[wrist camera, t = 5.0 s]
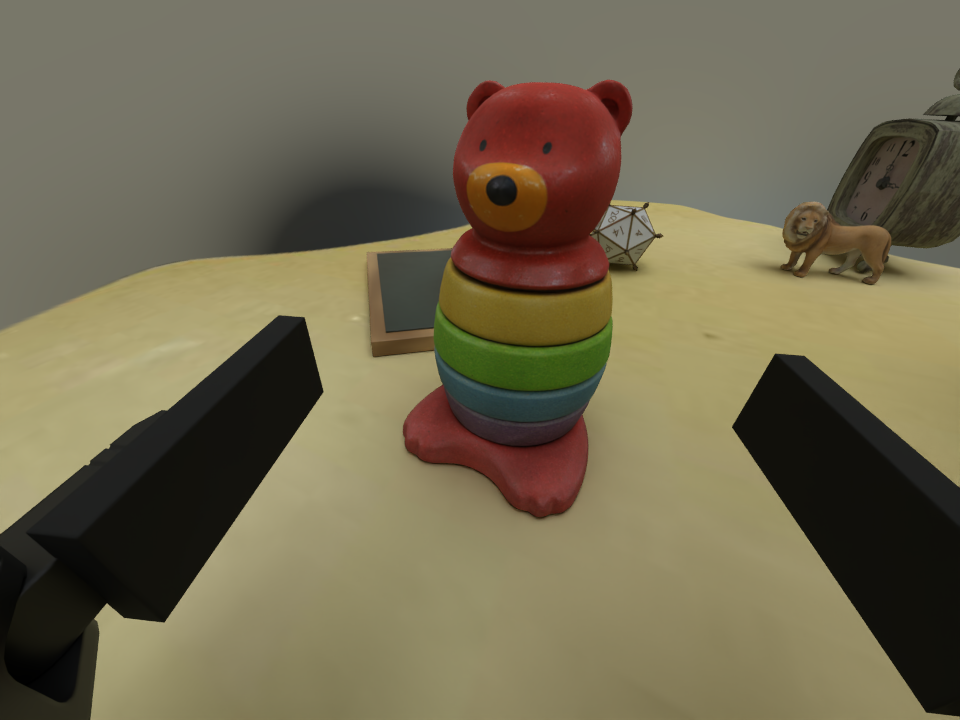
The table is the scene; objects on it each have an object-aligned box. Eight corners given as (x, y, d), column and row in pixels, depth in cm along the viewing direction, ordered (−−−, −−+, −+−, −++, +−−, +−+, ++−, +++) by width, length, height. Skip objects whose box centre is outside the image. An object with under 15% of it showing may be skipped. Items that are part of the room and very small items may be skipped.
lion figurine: (774, 278, 48) (811, 205, 43) (752, 264, 52) (784, 196, 47) (892, 286, 47) (945, 213, 42) (860, 271, 52) (904, 203, 47)
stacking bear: (388, 445, 22) (332, 62, 12) (474, 363, 29) (484, 85, 19) (561, 534, 18) (701, 58, 8) (610, 412, 25) (714, 89, 15)
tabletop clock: (805, 245, 62) (909, 52, 48) (868, 252, 60) (996, 53, 46) (853, 275, 50) (1010, 32, 36) (933, 285, 48) (1131, 32, 34)
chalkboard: (515, 255, 52) (516, 244, 51) (595, 332, 34) (598, 317, 33) (368, 262, 47) (366, 250, 46) (373, 357, 30) (370, 340, 29)
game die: (615, 297, 50) (643, 253, 41) (566, 261, 52) (582, 212, 43) (654, 255, 52) (689, 203, 43) (605, 222, 54) (628, 166, 45)
